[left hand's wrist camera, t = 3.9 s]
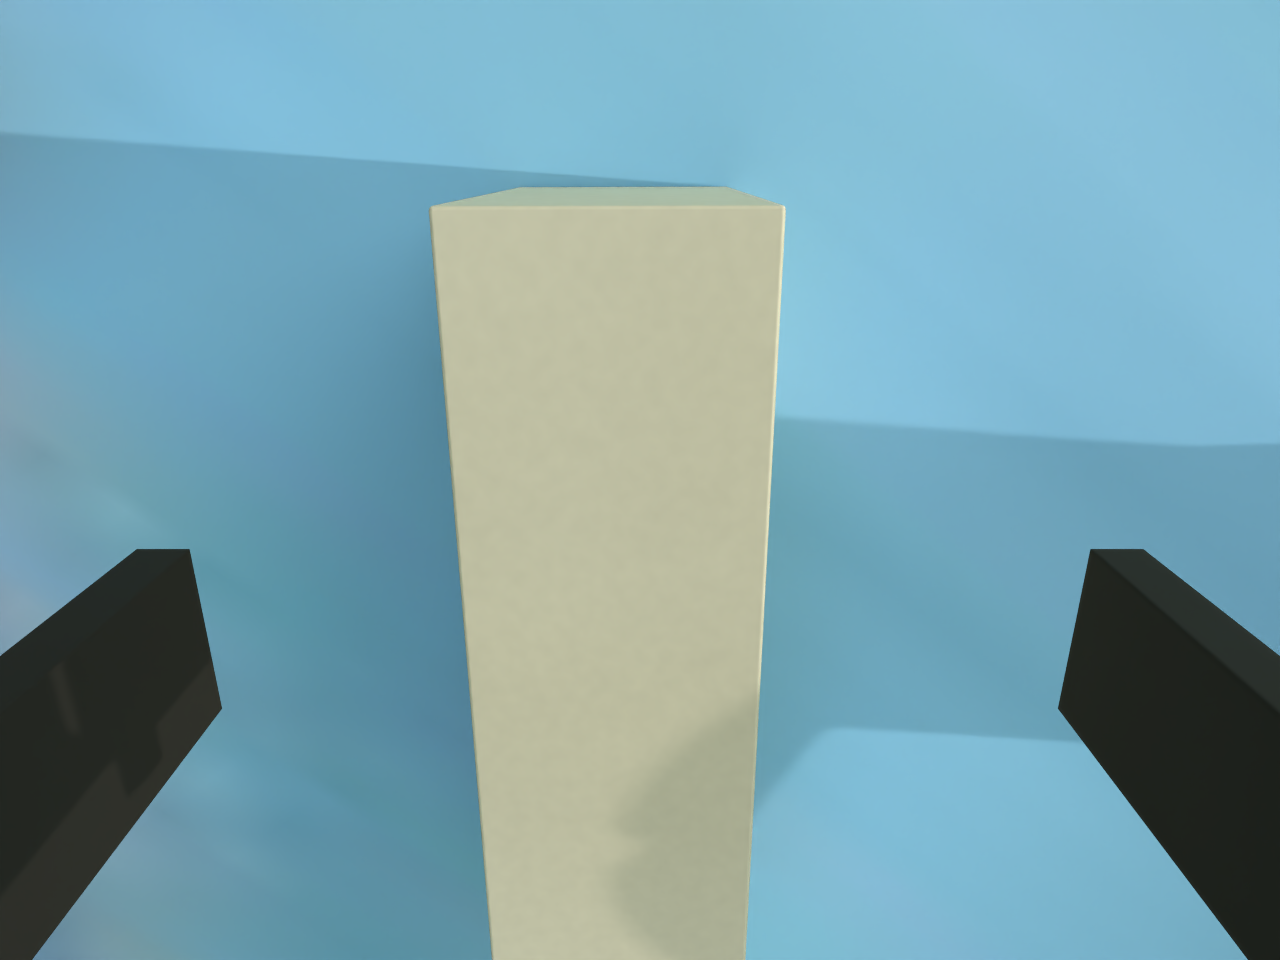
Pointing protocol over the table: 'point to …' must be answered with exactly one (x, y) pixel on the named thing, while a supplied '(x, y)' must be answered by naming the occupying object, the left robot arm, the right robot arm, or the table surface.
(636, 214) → the box
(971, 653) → the table surface
